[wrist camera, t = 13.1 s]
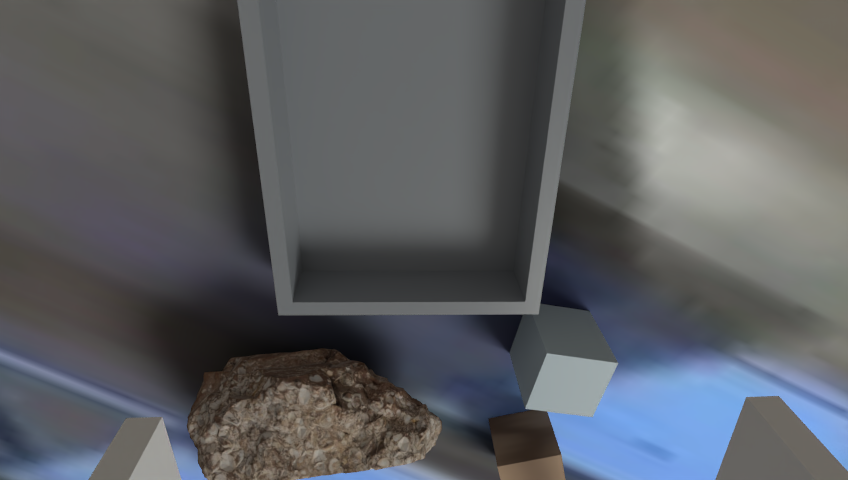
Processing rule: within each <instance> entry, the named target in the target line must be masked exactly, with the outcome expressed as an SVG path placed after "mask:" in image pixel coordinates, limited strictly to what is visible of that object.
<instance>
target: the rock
mask: <svg viewBox="0 0 848 480" xmlns="http://www.w3.org/2000/svg"><path fill="white" fill-rule="evenodd" d="M203 377H204V380H203V383H202V385H201V387H200V389H199V392H198V394H197V399H196V401H195V402H194V404H193V406H192V408H191V412H190V414H189V416H188V423H187V429H188V432H189V433H190V438H191V439H192V440H193V441H194V444H195V446H196V447H197V449H198V464H199V465H200V467H201V469H202V473H203V474H204V477H205V478H207V479H208V480H296V479H302V478H309V477H315V476H321V475H332V474H337V473H352V472H359V471H365V470H370V469H375V470H378V469H382V468H387V467H393V466H399V465H405V464H408V463H412V462H415V461H417V460H420V459H424V458H425V454H426V453H427V452H429V450H431V448H432V447H433V446H435V444H436V440H437V439H438V435H439V433H440V432H441V429H442V421H441V420H440V419H439V418H438V417H437V416H436V415H434V414H433V413H432V412H429V411H428V408H427V406H426V404H422V403H421V402H419V401H418V400H416V399H414V398H412V397H411V396H410V395H409V394H408V393H407V392H406V391H405V390H404V389H403V388H399V387H395V386H394V385H393V384H392V383H390V382H389V381H388V379H387V378H384V377H381V376H378V375H376V374H375V373H374V372H373V370H372V369H368V367H367V366H366V365H365V364H364V363H362V362H359V361H351V360H349V359H348V358H346V357H345V356H343V355H342V354H341V352H339V351H337V350H335V349H325V348H321V349H315V350H302V351H297V352H291V353H272V354H258V355H252V356H243V357H232V358H231V359H230V360H229V361H228V362H227V364H226V366H225V367H224V369H223V371H220V372H205V373H204V376H203Z"/></svg>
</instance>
